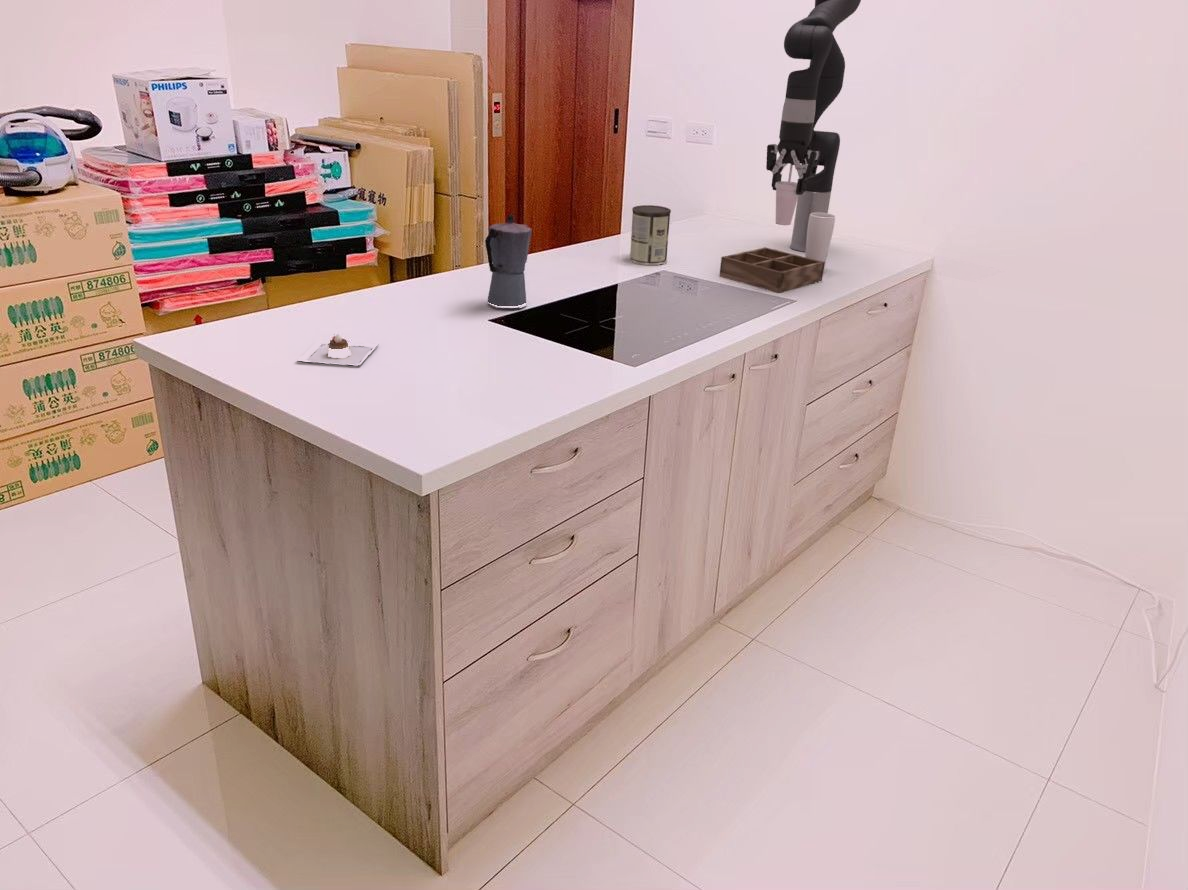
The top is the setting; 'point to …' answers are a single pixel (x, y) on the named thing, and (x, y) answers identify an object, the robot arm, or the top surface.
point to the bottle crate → (771, 269)
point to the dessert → (338, 343)
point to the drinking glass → (819, 235)
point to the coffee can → (649, 234)
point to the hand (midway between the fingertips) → (787, 191)
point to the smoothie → (785, 200)
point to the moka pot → (507, 262)
